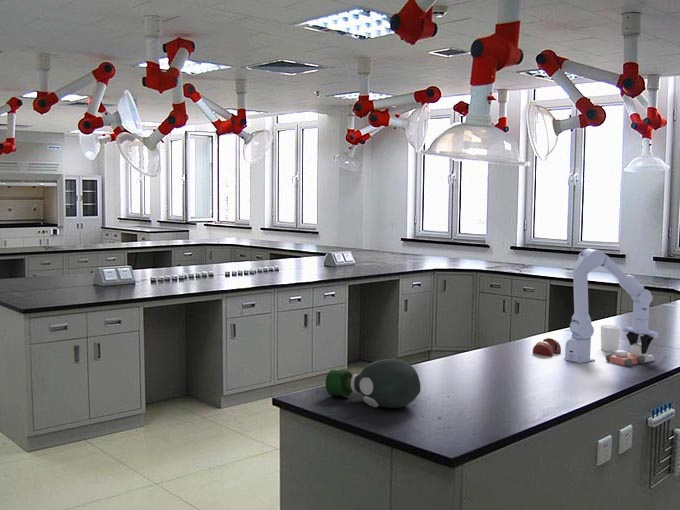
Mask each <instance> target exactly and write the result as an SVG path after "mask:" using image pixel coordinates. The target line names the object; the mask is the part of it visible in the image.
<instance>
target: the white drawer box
mask: <svg viewBox="0 0 680 510" xmlns="http://www.w3.org/2000/svg"><path fill="white" fill-rule="evenodd" d="M641 348H642V345H641V342H637V343H634V345H631V346H630V349H629V350H630V352H629V353H630V354H631V355H636V356H647V355H648V352H647V353H646V354H642V350H641Z"/></svg>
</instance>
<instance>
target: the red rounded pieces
mask: <svg viewBox="0 0 680 510" xmlns="http://www.w3.org/2000/svg"><path fill="white" fill-rule="evenodd" d="M561 351H562V347H561V344H560V343H559V341H557V340H555V339H554V338H552V337H551V338H550V337H548V338H547V337H545V338H544V339H543V341H538V342H536V343H535V345H534V346H533V347H532V354H534V355H538V356H546V357H553V356H554V354H560V353H561V354H562V352H561Z"/></svg>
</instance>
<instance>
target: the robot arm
mask: <svg viewBox="0 0 680 510" xmlns="http://www.w3.org/2000/svg"><path fill="white" fill-rule="evenodd" d="M599 267H603V268H605V269H606V270H607V271H608V272H609V273H611V275H613V276H614V277H615V278H616V279H617V280H618V284H619V286H620V287H621V288H622V289H623V290H624V291H626V293H627V294H628V295H630V298H631V300H633V303H632V304H633V306H632V307H633V308H632V326H626V325H625V326H622V329H621V330H622V332H623V333H626V334H625V336H626V338H627V340H628V342H629V346H630V347H631V345H634V343H638V342H639V341H638V340H639V338H640V343H641V345H642V348H641V350H642V354H646V353H647V354H648V349H649V346H650V344H651V342H653V340H654V339H657V338H659V332H657V331H655V330H650V329H649V315H650V304H651V302H652V301H653V298H654V297H653V296H652V293H651V291H650V290H648V289H645V285H644V284H641V283H640V282H639V281H638V280H637V279H636V278H637V277H636V276H635V275H631V274H626V273H625V272H624V271H623V270H622V269H621V268H620V267H619V266H618V265H617V263H615V262H614V261H613V260H612V259H611V258H610V257H609V255H607V254H605V252H604V251H602V250H599V249H593V248H585V249H584V250H583V251H581V252H580V253H579V254H578V258H577V261H576V262H575V264H574V266H573V267H572V269H573V270H572V276H573V277H572V279H573V308H574V309H573V311H574V313H573V315H572V316H571V322H570V324H569V330H570V332H571V337H570V338H569V339H568V340H566V342H565V349H564V350H565V352H564V357H563V359H562V360H565V361H569V362H570V361H571V362H573V363H577V364H581V363H588V362H594V361H596V359H595V358H592V357H591V347H592V346H591V345H592V344H591V343H592V337H593V335H594V332H595V328H594V327H593V324H592V319H591V316H590V314H589V282H588V277H589V276H588V274H589V273H591V272H592V271H593V270H594V269H596V268H599Z"/></svg>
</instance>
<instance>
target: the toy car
mask: <svg viewBox="0 0 680 510" xmlns="http://www.w3.org/2000/svg"><path fill="white" fill-rule="evenodd" d="M605 360H606V362H609V363H612V364H614V365H615V364H616V365H619V366H624V367H630V366H632V365H636V364H641V365H643V364H644V363H649V362H654V361H655V356H654V355H653V354H647V356H636V355H631V354H630V352H628V351H626V350H620V349H619V350H617V351H616V352H614V355H613V354H612V353H606V355H605Z"/></svg>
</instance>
